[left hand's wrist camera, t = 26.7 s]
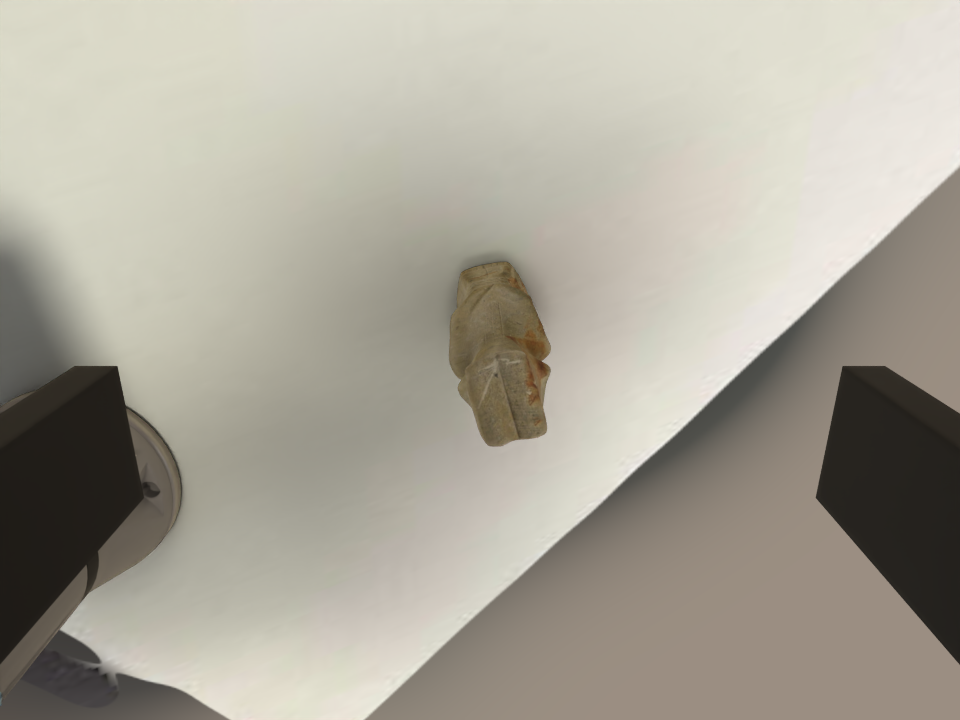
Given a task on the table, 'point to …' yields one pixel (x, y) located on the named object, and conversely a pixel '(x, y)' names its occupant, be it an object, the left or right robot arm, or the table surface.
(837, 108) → the table surface
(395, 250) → the table surface
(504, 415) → the sculpture
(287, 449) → the table surface
